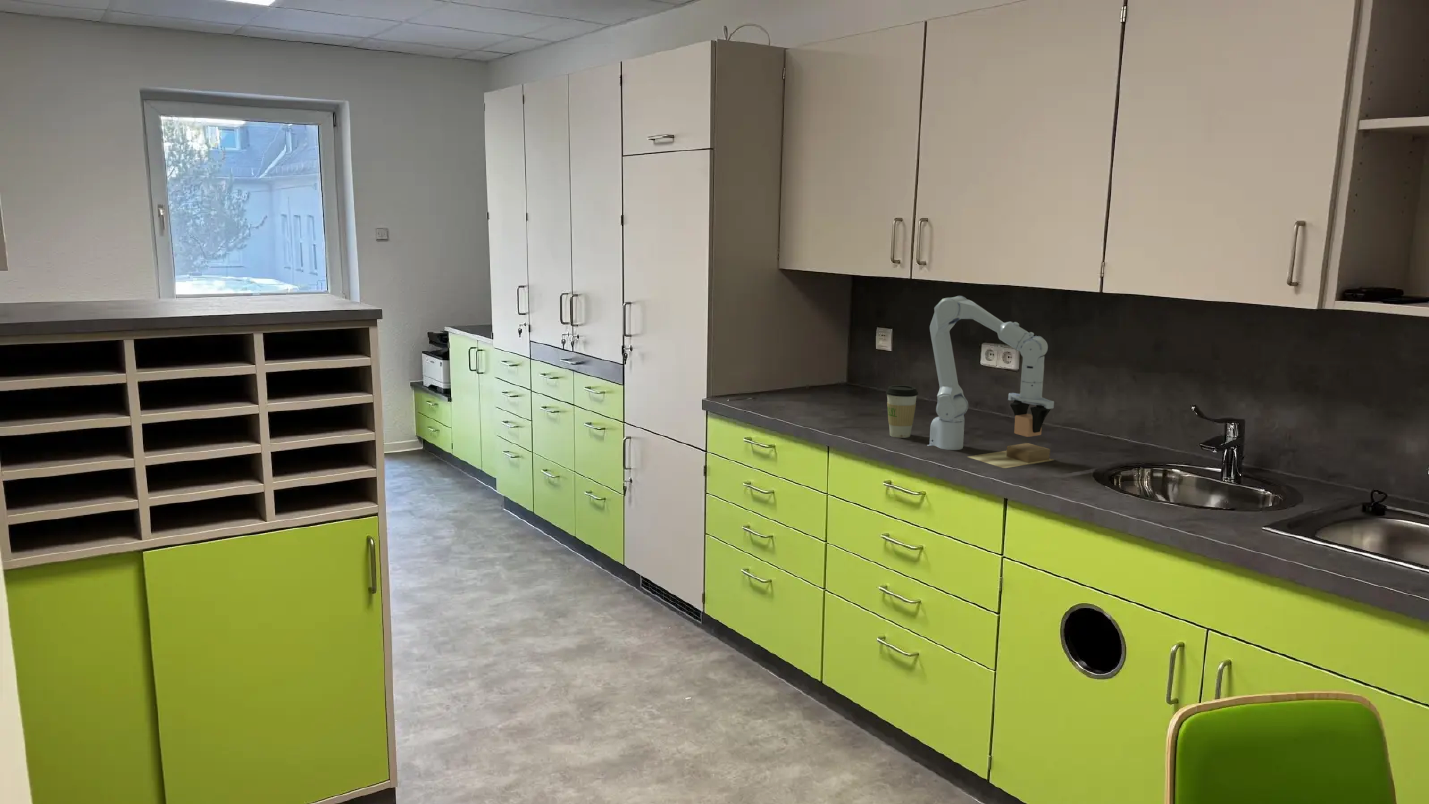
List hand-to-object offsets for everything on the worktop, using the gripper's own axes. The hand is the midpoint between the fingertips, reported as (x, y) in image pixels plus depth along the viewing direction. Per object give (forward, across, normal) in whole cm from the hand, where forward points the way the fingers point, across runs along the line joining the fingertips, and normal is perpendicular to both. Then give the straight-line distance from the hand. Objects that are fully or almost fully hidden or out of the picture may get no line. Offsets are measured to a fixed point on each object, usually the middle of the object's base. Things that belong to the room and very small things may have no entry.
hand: (1028, 430), depth 261 cm
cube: (+1, 0, 0) cm, 1 cm away
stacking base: (+9, -2, -4) cm, 10 cm away
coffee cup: (+9, -41, -11) cm, 43 cm away
